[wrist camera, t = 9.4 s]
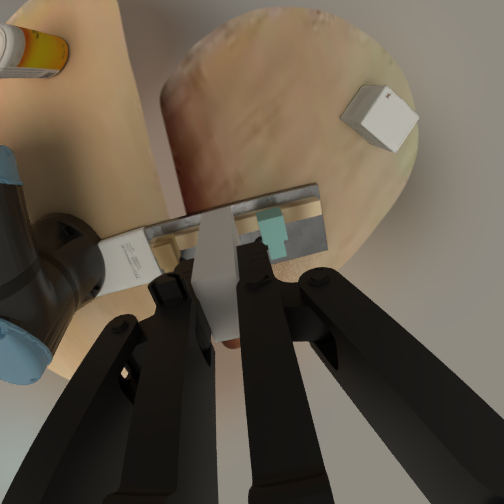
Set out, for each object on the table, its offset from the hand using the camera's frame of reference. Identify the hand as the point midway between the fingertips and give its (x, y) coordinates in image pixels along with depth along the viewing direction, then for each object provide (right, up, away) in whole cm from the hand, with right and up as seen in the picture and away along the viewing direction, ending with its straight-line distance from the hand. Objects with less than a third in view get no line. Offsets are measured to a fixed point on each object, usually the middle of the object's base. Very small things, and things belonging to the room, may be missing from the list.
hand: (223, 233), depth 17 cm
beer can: (-25, +25, +15) cm, 39 cm away
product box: (+17, +18, +23) cm, 33 cm away
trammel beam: (-1, +2, +28) cm, 28 cm away
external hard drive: (-18, -2, +29) cm, 35 cm away
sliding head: (+4, +3, +27) cm, 28 cm away
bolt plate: (0, +1, +29) cm, 29 cm away
